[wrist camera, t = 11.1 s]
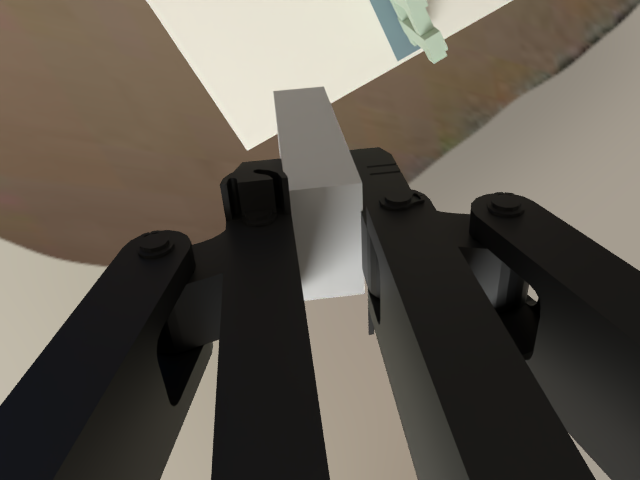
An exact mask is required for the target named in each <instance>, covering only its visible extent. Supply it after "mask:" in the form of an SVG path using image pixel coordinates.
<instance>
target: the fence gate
mask: <svg viewBox="0 0 640 480" xmlns="http://www.w3.org/2000/svg"><path fill="white" fill-rule="evenodd" d="M390 2H391V4H392V6H393V8H394V10H395V12H396V14H397V16H398V18H397V19H398V21H399V23H400V25H401V27H402V29H403V31H404V33H405V34H406V35H407V37H408V39H409V41H410V43H411V44H413V45H414V46H417V45H418V46H419V47H421V48H422V49H423V50H424V51H425V53H426V55H427V57H428V59H429V60H430V61H431V62H432V63H433V64H435V63H436V62H438V61H440V60H441V59H443V58H444V57H446V56H447V54H446V52H445V51H446V50H448V47H447V45H446V43H445V41H444V38H443V36H442V34H441V32H440V31H439V30H438V29H437V28H435V27H434V26H433V24H432V22H431V19H430V17H429V15H428V13H427V11H426V8H425V7H427V6H429V5H428V3H427V1H426V0H390Z"/></svg>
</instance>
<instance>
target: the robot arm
mask: <svg viewBox="0 0 640 480" xmlns="http://www.w3.org/2000/svg"><path fill="white" fill-rule="evenodd" d="M273 94H274V104H275V113H276V123H277V133H278V142H279V152H280V159H272V160H262V161H252V162H242V163H241V164H240V166H239V167H238V168H237V169H236V170H235V171H234V172H233V173H230V174H229V175H228V176H226V177H225V178H223V180H222V182H221V183H220V188H221V194H222V200H223V205H224V211H225V217H226V230H225V231H224V232H222V233H221V234H220V235H218V236H216V237H214V238H212V239H209V240H207V241H204V242H201V243H197V244H194V245H192V244H191V241H190V239H189V238H188V236H187V235H185V234H183V233H181V232H178V231H171V230H164V231H152V232H151V233H149V232H148V233H145V234H142V235H141V236H139V237H137V238H135V239H133V240H131V241H130V242H129V243H127V244H126V245H125V246H124V247H123V248H122V249H121V251H120V252H119V253H118V254H117V256H116V257H115V258H114V260H113V261H112V262H111V263H110V265H109V266H108V267H107V269H106V270H105V271H104V273H103V274H102V275H101V277H100V278H99V279H98V280H97V282H96V283H95V284H94V285H93V287H92V288H91V289H90V291H89V292H88V293H87V294H86V296H85V297H84V298H83V300H82V301H81V302H80V304H79V305H78V306H77V307H76V309H75V310H74V311H73V313H72V314H71V315H70V316H69V318H68V319H67V320H66V322H65V323H64V324H63V325H62V327H61V328H60V329H59V331H58V332H57V333H56V334H55V336H54V337H53V338H52V340H51V341H50V342H49V344H48V345H47V346H46V347H45V349H44V350H43V351H42V353H41V354H40V355H39V357H38V358H37V359H36V360H35V362H34V363H33V364H32V365H31V367H30V368H29V369H28V371H27V372H26V373H25V374H24V376H23V377H22V378H21V380H20V381H19V382H18V384H17V385H16V386H15V388H14V389H13V390H12V391H11V393H10V394H9V395H8V396H7V398H6V399H5V400H4V402H3V403H2V404H1V406H0V480H160V478H161V476H162V473H163V471H164V468H165V466H166V464H167V461H168V459H169V456H170V454H171V451H172V449H173V447H174V444H175V441H176V439H177V437H178V434H179V432H180V430H181V427H182V425H183V422H184V420H185V417H186V415H187V412H188V410H189V408H190V405H191V403H192V400H193V398H194V395H195V393H196V391H197V388H198V386H199V383H200V381H201V378H202V376H203V373H204V371H205V369H206V366H207V364H208V361H209V359H210V356H211V354H212V348H213V343H212V342H213V341H216V340H219V355H218V372H217V389H216V405H215V422H214V439H213V457H212V474H211V480H330V477H329V470H328V463H327V457H326V450H325V442H324V437H323V429H322V422H321V415H320V408H319V401H318V394H317V387H316V380H315V373H314V366H313V360H312V353H311V346H310V339H309V333H308V325H307V319H306V311H305V304H304V301H306V300H315V299H324V298H331V297H341V296H350V295H358V294H365V287H364V286H365V285H364V284H365V283H364V276H365V279H366V283H367V286H368V320H369V335H371V334H374V329H375V333H376V336H377V339H378V343H379V346H380V350H381V353H382V357H383V360H384V364H385V367H386V371H387V374H388V377H389V381H390V384H391V388H392V391H393V395H394V398H395V402H396V405H397V409H398V412H399V415H400V419H401V422H402V426H403V430H404V433H405V437H406V440H407V443H408V447H409V450H410V454H411V457H412V461H413V464H414V468H415V471H416V475H417V478H418V480H596V479H595V477H594V476H593V474H592V472H591V471H590V469H589V467H588V466H587V464H586V462H585V461H584V459H583V457H582V456H581V454H580V452H579V450H578V449H577V447H576V445H575V444H574V442H573V440H572V439H571V437H570V435H571V436H572V437H573V438H574V440H575V441H576V442H577V443H578V444H579V445H580V446H581V447H582V448H583V449H584V450H585V452H586V453H587V454H588V455H589V456H590V457H591V458H592V459H593V460H594V461H595V462H596V463H597V465H598V466H599V467H600V468H601V469H602V470H603V471H604V472H605V473H606V474H607V475H608V477H609V478H610V479H611V480H640V271H639V270H637V269H636V268H634V267H633V266H631V265H630V264H628V263H627V262H625V261H624V260H622V259H620V258H619V257H617V256H616V255H614V254H613V253H611V252H610V251H608V250H607V249H605V248H604V247H602V246H601V245H599V244H598V243H596V242H595V241H593V240H592V239H590V238H589V237H587V236H586V235H584V234H583V233H581V232H579V231H578V230H576V229H575V228H573V227H572V226H570V225H568V224H567V223H566V222H564V221H563V220H561V219H560V218H558V217H556V216H555V215H554V214H552V213H551V212H549V211H547V210H546V209H544V208H543V207H541V206H540V205H538V204H537V203H535V202H534V201H531V200H530V199H527V198H525V197H523V196H519V195H514V194H513V193H503V192H497V193H494V194H487V195H483V196H481V197H478V198H476V199H475V200H474V201H473V202H472V203H471V213H470V214H456V213H446V212H440V211H436V209H435V207H434V206H433V204H432V202H431V201H430V199H429V198H428V197H427V196H426V195H425V194H422V193H420V192H418V191H416V190H411V189H410V187H409V185H408V184H407V182H406V180H405V178H404V176H403V174H402V173H401V172H400V169H399V167H398V165H396V162H395V160H394V158H393V156H392V155H391V154H390V153H388V152H386V151H385V150H383V149H381V148H379V147H377V148H367V149H357V150H349V148H348V146H347V143H346V141H345V138H344V136H343V133H342V131H341V128H340V126H339V123H338V121H337V118H336V116H335V113H334V111H333V108H332V106H331V103H330V101H329V98H328V96H327V93H326V91H325V88H324V86H323V87H312V88H301V89H290V90H279V91H273ZM529 285H531V287H532V288H533V289H534V290H535V291H536V293H537V295H538V297H539V298H538V301H537V302H536V301H534V300H533V299H532V298H531V297H530V296H529V295H527V293H528V287H529ZM568 433H569V434H570V435H569V434H568Z"/></svg>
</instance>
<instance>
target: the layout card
mask: <svg viewBox="0 0 640 480" xmlns="http://www.w3.org/2000/svg"><path fill="white" fill-rule="evenodd" d="M146 1H147V2H148V4H149V5H150V6H151V8H152V9H153V11H154V12H155V14H156V15H157V17H158V18H159V20H160V21H161V23H162V24H163V26H164V27H165V29H166V30H167V32H168V33H169V35H170V36H171V38H172V39H173V41H174V42H175V44H176V45H177V47H178V48H179V50H180V51H181V53H182V54H183V56H184V57H185V59H186V60H187V62H188V63H189V65H190V66H191V68H192V69H193V71H194V72H195V74H196V75H197V77H198V78H199V79H200V81H201V82H202V84H203V85H204V87H205V88H206V90H207V91H208V93H209V94H210V96H211V97H212V99H213V100H214V102H215V103H216V105H217V106H218V108H219V109H220V111H221V112H222V114H223V115H224V117H225V118H226V120H227V121H228V123H229V124H230V126H231V127H232V129H233V130H234V132H235V133H236V135H237V136H238V138H239V139H240V141H241V142H242V144H243V145H244V147H245V148H246V149H247V151H248V150H249V149H251V148H253V147H255V146H257V145H258V144H260V143H262V142H264V141H265V140H267V139H269V138H271V137H272V136H274V135H276V134H278V133H277V123H276V113H275V104H274V94H273V91H279V90H290V89H301V88H312V87H323V86H324V88H325V91H326V93H327V96H328V98H329V101H330V103H332V102H334V101H336V100H338V99H340V98H341V97H343V96H345V95H347V94H348V93H350V92H352V91H354V90H355V89H357V88H359V87H361V86H362V85H364V84H366V83H368V82H370V81H371V80H373V79H375V78H377V77H378V76H380V75H382V74H384V73H385V72H387V71H389V70H391V69H393V68H394V67H396V66H398V65H400V64H401V63H403V62H405V61H407V60H408V59H410V58H412V57H414V56H415V55H417V54H419V53H421V52H423V51H424V50H423V49H422V48H421V47H419V46H418V45H417V46H414V45H413V44H411V43H410V41H409V39H408V37H407V35H406V34H405V33H404V31H403V29H402V27H401V25H400V23H399V21H398V19H397V18H398V16H397V14H396V12H395V10H394V8H393V6H392V4H391V2H390V0H146ZM426 1H427V3H428V5H429V6H427V7H425V8H426V11H427V13H428V15H429V17H430V19H431V22H432V24H433V26H434V27H435V28H437V29H438V30H439V31H440V32H441V34H442V36H443V38H444V39H445V38H447V37H449V36H451V35H453V34H454V33H456V32H458V31H460V30H461V29H463V28H465V27H467V26H468V25H470V24H472V23H474V22H475V21H477V20H479V19H481V18H483V17H484V16H486V15H488V14H490V13H491V12H493V11H495V10H497V9H498V8H500V7H502V6H504V5H506V4H507V3H509V2H511V1H513V0H426Z"/></svg>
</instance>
